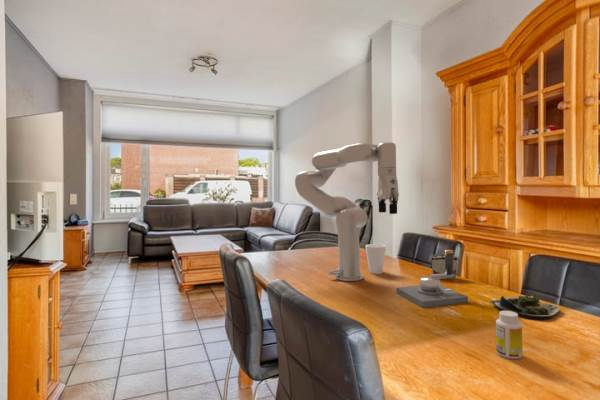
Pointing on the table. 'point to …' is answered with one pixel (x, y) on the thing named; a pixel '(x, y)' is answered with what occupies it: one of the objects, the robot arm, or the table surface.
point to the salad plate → (527, 307)
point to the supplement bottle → (509, 335)
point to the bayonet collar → (438, 275)
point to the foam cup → (375, 257)
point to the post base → (431, 296)
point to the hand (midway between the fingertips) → (387, 213)
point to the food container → (442, 264)
